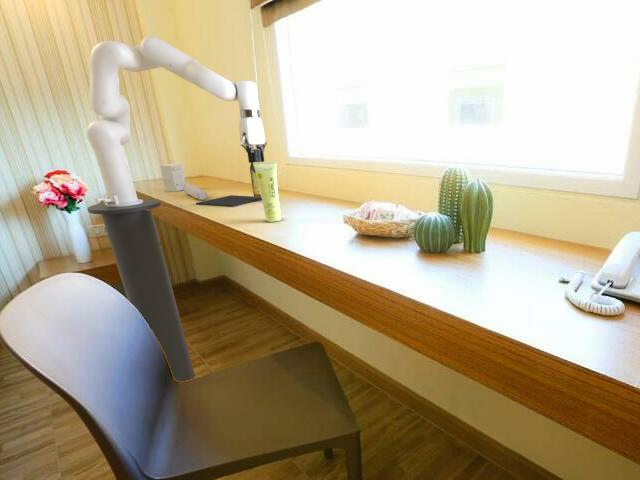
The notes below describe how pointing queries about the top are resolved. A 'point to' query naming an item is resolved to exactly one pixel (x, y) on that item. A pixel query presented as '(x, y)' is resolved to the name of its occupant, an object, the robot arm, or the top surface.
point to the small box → (173, 177)
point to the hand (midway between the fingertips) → (256, 161)
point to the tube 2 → (268, 189)
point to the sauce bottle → (253, 174)
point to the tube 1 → (195, 192)
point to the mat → (230, 201)
